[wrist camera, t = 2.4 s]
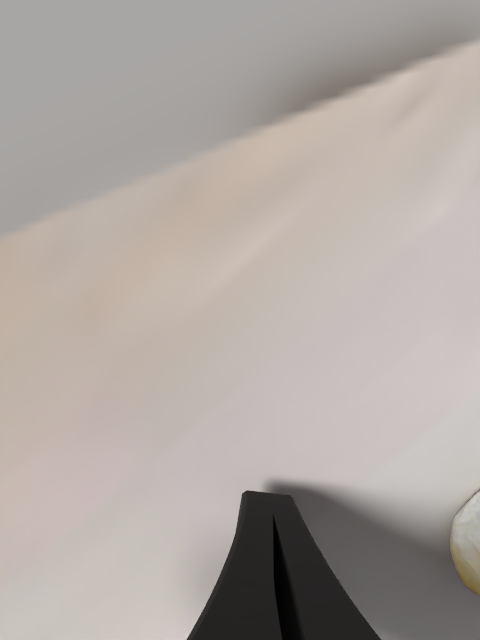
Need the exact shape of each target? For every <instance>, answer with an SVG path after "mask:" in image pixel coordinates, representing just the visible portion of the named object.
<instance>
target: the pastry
mask: <svg viewBox="0 0 480 640" xmlns="http://www.w3.org/2000/svg"><path fill="white" fill-rule="evenodd" d="M450 552H451V555H452V559H453V562H454V565H455V568H456V571H457V573H458V575H459V577H460V579H461V580H462V582H463V584H464V585H465V586H466V587H468V588H469V589H470V590H471V591H472V592H474V593H477V594H479V595H480V491H478V492H477V493H476V494H475V495H474V496H473V497H472V498H471V499H470V500H469V501H468V502H467V503H466V504H465V505H464V506H463V507H462V509H461V510H460V511H459V512H458V513H457V515H456V516H455V517H454V520H453V523H452V529H451V537H450Z"/></svg>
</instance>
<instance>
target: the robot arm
mask: <svg viewBox="0 0 480 640" xmlns="http://www.w3.org/2000/svg"><path fill="white" fill-rule="evenodd" d="M187 640H381V639H380V638H379V636H378V635H377V634H376V633H375V631H374V630H373V629H372V628H371V626H370V625H369V624H368V622H367V621H366V620H365V618H364V617H363V616H362V614H361V613H360V612H359V610H358V609H357V608H356V606H355V605H354V603H353V602H352V600H351V599H350V598H349V596H348V595H347V593H346V592H345V590H344V589H343V587H342V586H341V584H340V583H339V581H338V580H337V578H336V577H335V575H334V573H333V572H332V570H331V569H330V567H329V565H328V564H327V562H326V560H325V559H324V557H323V555H322V553H321V552H320V550H319V548H318V547H317V545H316V543H315V541H314V539H313V538H312V536H311V534H310V532H309V530H308V528H307V526H306V525H305V523H304V521H303V519H302V517H301V515H300V513H299V511H298V508H297V506H296V504H295V502H294V500H293V498H292V497H291V496H290V495H282V494H273V493H264V492H255V491H245V492H244V493H242V498H241V504H240V510H239V516H238V522H237V528H236V534H235V537H234V540H233V543H232V546H231V549H230V552H229V554H228V557H227V559H226V562H225V564H224V567H223V569H222V571H221V574H220V576H219V579H218V581H217V583H216V585H215V587H214V589H213V592H212V594H211V596H210V598H209V600H208V602H207V604H206V606H205V608H204V610H203V611H202V613H201V615H200V617H199V619H198V621H197V622H196V624H195V626H194V628H193V630H192V631H191V633H190V635H189V637H188V638H187Z"/></svg>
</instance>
